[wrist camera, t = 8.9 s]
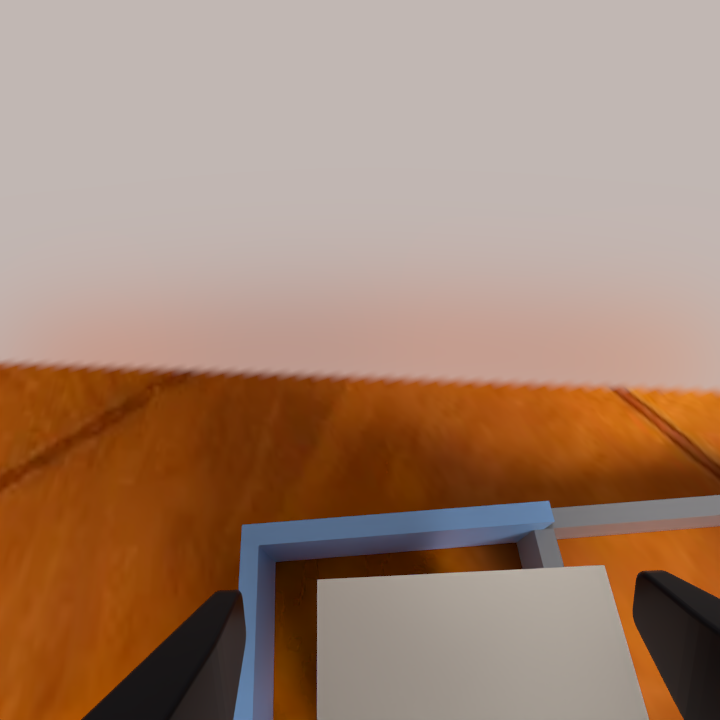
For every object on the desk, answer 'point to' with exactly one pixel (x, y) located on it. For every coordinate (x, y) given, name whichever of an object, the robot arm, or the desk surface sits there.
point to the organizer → (425, 532)
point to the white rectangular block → (474, 647)
